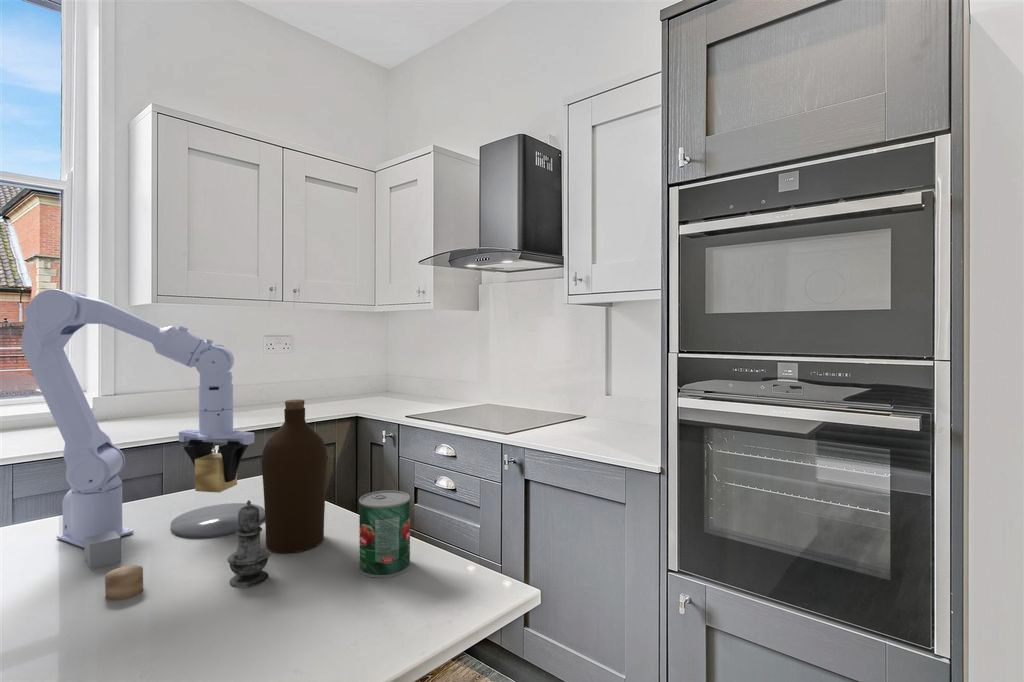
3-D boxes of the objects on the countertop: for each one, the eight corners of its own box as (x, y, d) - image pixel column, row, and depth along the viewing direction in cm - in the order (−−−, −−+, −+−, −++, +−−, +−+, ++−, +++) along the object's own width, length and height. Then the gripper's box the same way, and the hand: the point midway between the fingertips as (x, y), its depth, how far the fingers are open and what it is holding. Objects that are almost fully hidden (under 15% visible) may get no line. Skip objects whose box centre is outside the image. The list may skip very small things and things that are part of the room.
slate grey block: (84, 562, 87) (84, 537, 87) (114, 554, 90) (114, 530, 90) (90, 569, 85) (89, 544, 85) (121, 561, 88) (120, 537, 88)
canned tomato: (420, 566, 87) (420, 497, 86) (377, 583, 81) (377, 509, 81) (391, 551, 92) (391, 487, 92) (349, 566, 86) (349, 497, 86)
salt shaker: (253, 590, 78) (253, 507, 78) (217, 586, 80) (217, 504, 79) (278, 572, 84) (278, 495, 84) (245, 568, 85) (244, 492, 85)
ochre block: (195, 491, 102) (194, 459, 102) (213, 483, 107) (213, 453, 107) (219, 492, 101) (219, 460, 101) (237, 484, 106) (236, 454, 106)
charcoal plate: (151, 527, 102) (151, 522, 102) (230, 503, 116) (230, 498, 116) (205, 544, 95) (205, 538, 95) (282, 515, 109) (282, 511, 109)
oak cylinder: (98, 596, 77) (98, 575, 77) (132, 583, 81) (132, 563, 80) (116, 603, 75) (115, 582, 75) (149, 589, 79) (149, 569, 78)
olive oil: (292, 560, 89) (291, 406, 88) (248, 547, 93) (247, 402, 93) (340, 537, 98) (340, 399, 97) (297, 527, 103) (297, 395, 102)
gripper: (165, 411, 101) (166, 484, 101) (237, 413, 99) (237, 488, 99) (193, 405, 108) (194, 473, 108) (260, 407, 106) (261, 477, 106)
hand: (216, 480), depth 104 cm, fingers closed on ochre block, 5 cm apart
